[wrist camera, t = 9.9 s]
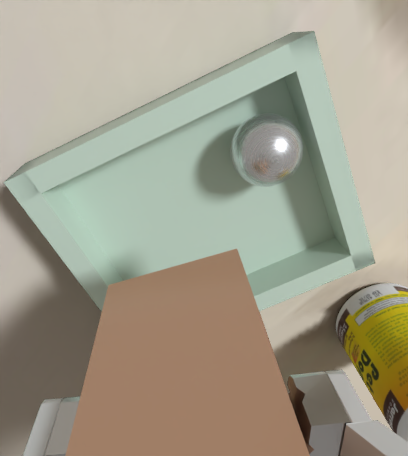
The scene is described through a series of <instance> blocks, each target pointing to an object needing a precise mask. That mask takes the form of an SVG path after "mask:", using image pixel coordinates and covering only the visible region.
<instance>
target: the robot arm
mask: <svg viewBox="0 0 408 456" xmlns="http://www.w3.org/2000/svg"><path fill="white" fill-rule="evenodd" d="M288 387H289V390H290V393H289V394H288V395H289V398H290V401H291V404H292V406H293V409H294V412H295V415H296V418H297V421H298V424H299V426H300V429H301V432H302V435H303V438H304V441H305V443H306V446H307V449H308V452H309V455H310V456H408V442H407V441H406V440H404V439H403V438H401V437H400V436H399V435H397V434H396V433H394V432H393V431H392V430H390V429H389V428H388V427H386V426H385V425H383V424H382V423H380V422H379V421H378V420H371V418H370V416H369V414H368V413H367V411H366V409H365V407H364V406H363V404H362V402H361V400H360V398H359V396H358V395H357V393H356V391H355V389H354V388H353V386H352V384H351V382H350V380H349V379H348V377H347V375H346V373H345V372H344V371H343V370H334V371H325V372H323V371H322V372H313V373H304V374H296V375H290V376H289V378H288ZM79 400H80V397H68V398H57V399H46V400H44V401H43V403H42V404H41V405H40V408H39V411H38V414H37V416H36V419H35V422H34V425H33V428H32V430H31V433H30V436H29V439H28V442H27V444H26V447H25V450H24V453H23V456H66V452H67V448H68V444H69V440H70V436H71V432H72V428H73V424H74V420H75V416H76V412H77V408H78V404H79Z"/></svg>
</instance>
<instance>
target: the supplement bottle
mask: <svg viewBox="0 0 408 456" xmlns="http://www.w3.org/2000/svg"><path fill="white" fill-rule="evenodd" d="M336 332H337V336H338V338H339V340H340V342H341V344H342V346H343V348H344V349H345V351H346V353H347V354H348V356H349V358H350V359H351V361H352V363H353V364H354V366H355V368H356V369H357V371H358V373H359V374H360V376H361V377H362V380H363V381H364V383H365V385H366V386H367V388H368V390H369V392H370V393H371V395H372V396H373V399H374V400H375V402H376V404H377V405H378V407H379V408H380V410H381V412H382V413H383V415H384V417H385V419H386V420H387V421H388V424H389V425H390V427H391V429H392V430H393V432H394V433H396V434H397V435H399V436H400V437H401V438H403V439H404V440H406V441H407V442H408V288H407V287H405V286H402V285H399V284H394V283H381V284H376V285H372V286H369V287H367V288H364V289H362V290H361V291H359V292H357V293H356V294H354V295H353V296H352V297H351V298H350V299H348V300H347V301H346V303H345V304H344V305H343V307H342V308H341V310H340V312H339V314H338V316H337V320H336Z"/></svg>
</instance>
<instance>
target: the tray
mask: <svg viewBox="0 0 408 456" xmlns="http://www.w3.org/2000/svg"><path fill="white" fill-rule="evenodd" d="M264 113H272V114H277V115H280V116H283V117H285V118H287V119H288V120H289V121H291V122H292V123H293V124H294V125H295V127H296V128H297V129H298V131H299V133H300V135H301V138H302V142H303V156H302V160H301V163H300V165H299V167H298V169H297V170H296V171H295V173H294V174H293V175H292V176H291V177H290V178H289V179H287V180H286V181H284V182H283V183H281V184H278V185H275V186H270V187H261V186H256V185H253V184H251V183H249V182H247V181H245V180H244V179H243V178H242V177H241V176H240V175H239V174H238V173H237V172H236V170H235V168H234V166H233V164H232V161H231V156H230V147H231V141H232V138H233V136H234V134H235V132H236V130H237V129H238V128H239V126H240V125H241V124H242V123H243V122H245V121H246V120H247V119H249V118H251V117H253V116H255V115H259V114H264ZM4 184H5V185H6V186H7V188H8V189H9V190H10V192H11V193H12V194H13V196H14V197H15V198H16V199H17V201H18V202H19V203H20V205H21V206H22V207H23V209H24V210H25V211H26V213H27V214H28V215H29V217H30V218H31V219H32V221H33V222H34V223H35V225H36V226H37V227H38V229H39V230H40V231H41V233H42V234H43V235H44V237H45V238H46V239H47V240H48V242H49V243H50V244H51V246H52V247H53V248H54V250H55V251H56V252H57V254H58V255H59V256H60V258H61V259H62V260H63V262H64V263H65V264H66V266H67V267H68V268H69V270H70V271H71V272H72V274H73V275H74V276H75V278H76V279H77V280H78V281H79V283H80V284H81V285H82V287H83V288H84V289H85V291H86V292H87V293H88V295H89V296H90V297H91V299H92V300H93V301H94V303H95V304H96V305H97V307H98V308H99V309H100V311H101V312H102V309H103V305H104V301H105V297H106V293H107V289H108V285H110V284H114V283H117V282H121V281H124V280H128V279H131V278H135V277H138V276H142V275H145V274H149V273H152V272H156V271H160V270H163V269H167V268H170V267H174V266H177V265H181V264H184V263H188V262H191V261H195V260H198V259H202V258H205V257H209V256H212V255H216V254H219V253H223V252H226V251H230V250H233V249H237V250H238V252H239V255H240V258H241V261H242V264H243V267H244V270H245V272H246V275H247V278H248V281H249V284H250V287H251V289H252V292H253V295H254V298H255V301H256V304H257V307H258V309H259V311H261V310H263V309H266V308H268V307H271V306H273V305H275V304H278V303H280V302H283V301H285V300H287V299H290V298H292V297H295V296H297V295H299V294H302V293H304V292H307V291H309V290H311V289H314V288H316V287H319V286H321V285H323V284H326V283H328V282H331V281H333V280H336V279H338V278H340V277H343V276H345V275H348V274H350V273H352V272H355V271H357V270H360V269H362V268H364V267H367V266H369V265H372V264H374V263H375V261H374V257H373V253H372V249H371V245H370V242H369V238H368V234H367V230H366V226H365V223H364V219H363V215H362V211H361V207H360V204H359V200H358V196H357V192H356V188H355V185H354V181H353V177H352V173H351V169H350V165H349V162H348V158H347V154H346V150H345V146H344V143H343V139H342V135H341V131H340V127H339V124H338V120H337V116H336V112H335V108H334V105H333V101H332V97H331V93H330V89H329V86H328V82H327V78H326V74H325V70H324V67H323V63H322V59H321V55H320V51H319V48H318V44H317V40H316V36H315V32H314V31H308V32H293V33H290V34H288V35H286V36H284V37H282V38H280V39H278V40H276V41H274V42H272V43H270V44H268V45H266V46H264V47H262V48H260V49H258V50H256V51H254V52H252V53H250V54H247V55H245V56H243V57H241V58H239V59H237V60H235V61H233V62H231V63H229V64H227V65H225V66H223V67H221V68H219V69H217V70H215V71H213V72H211V73H209V74H207V75H205V76H203V77H201V78H199V79H197V80H194V81H192V82H190V83H188V84H186V85H184V86H182V87H180V88H178V89H176V90H174V91H172V92H170V93H168V94H166V95H164V96H162V97H160V98H158V99H156V100H154V101H152V102H150V103H148V104H146V105H143V106H141V107H139V108H137V109H135V110H133V111H131V112H129V113H127V114H125V115H123V116H121V117H119V118H117V119H115V120H113V121H111V122H109V123H107V124H105V125H103V126H101V127H99V128H97V129H95V130H93V131H90V132H88V133H86V134H84V135H82V136H80V137H78V138H76V139H74V140H72V141H70V142H68V143H66V144H64V145H62V146H60V147H58V148H56V149H54V150H52V151H50V152H48V153H46V154H44V155H42V156H39V157H37V158H35V159H33V160H31V161H29V162H27V163H25V164H24V165H23V166H22V167H20V168H19V169H18V170H17V171H16V172H15V173H14V174H13V175H11V176H10V177H9V178H8V179H7V180H6V181H5V182H4Z"/></svg>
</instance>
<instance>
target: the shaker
mask: <svg viewBox="0 0 408 456" xmlns="http://www.w3.org/2000/svg"><path fill="white" fill-rule="evenodd" d="M66 456H310V455H309V452H308V449H307V446H306V443H305V441H304V438H303V435H302V432H301V429H300V426H299V424H298V421H297V418H296V415H295V412H294V409H293V406H292V404H291V401H290V398H289V395H288V392H287V389H286V386H285V384H284V381H283V378H282V375H281V372H280V369H279V366H278V364H277V361H276V358H275V355H274V352H273V349H272V347H271V344H270V341H269V338H268V335H267V332H266V329H265V327H264V324H263V321H262V318H261V315H260V312H259V309H258V307H257V304H256V301H255V298H254V295H253V292H252V289H251V287H250V284H249V281H248V278H247V275H246V272H245V270H244V267H243V264H242V261H241V258H240V255H239V252H238V250H237V249H233V250H230V251H226V252H223V253H219V254H216V255H212V256H209V257H205V258H202V259H198V260H195V261H191V262H188V263H184V264H181V265H177V266H174V267H170V268H167V269H163V270H160V271H156V272H152V273H149V274H145V275H142V276H138V277H135V278H131V279H128V280H124V281H121V282H117V283H114V284H110V285H108V289H107V293H106V297H105V301H104V305H103V309H102V313H101V317H100V321H99V325H98V329H97V333H96V337H95V341H94V344H93V348H92V352H91V356H90V360H89V364H88V368H87V372H86V376H85V380H84V384H83V388H82V392H81V396H80V400H79V404H78V408H77V412H76V416H75V420H74V424H73V428H72V432H71V436H70V440H69V444H68V448H67V452H66Z"/></svg>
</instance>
